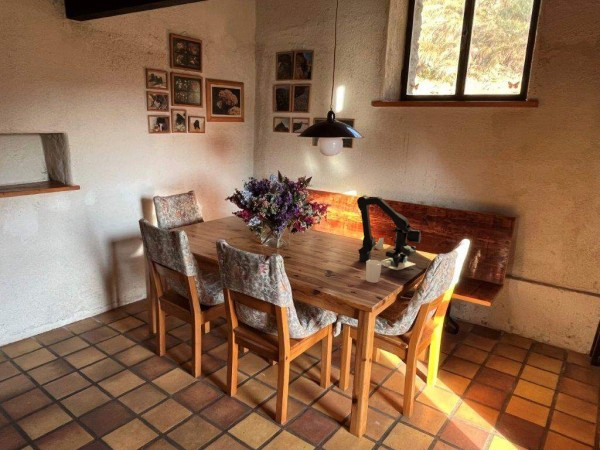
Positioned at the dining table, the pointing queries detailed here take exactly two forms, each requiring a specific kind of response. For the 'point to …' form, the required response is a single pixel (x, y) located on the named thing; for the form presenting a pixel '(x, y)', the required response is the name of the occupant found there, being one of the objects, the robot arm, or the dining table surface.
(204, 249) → the dining table surface
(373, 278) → the white cup
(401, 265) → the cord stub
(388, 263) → the backplate with stepped blocks
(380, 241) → the architectural model
